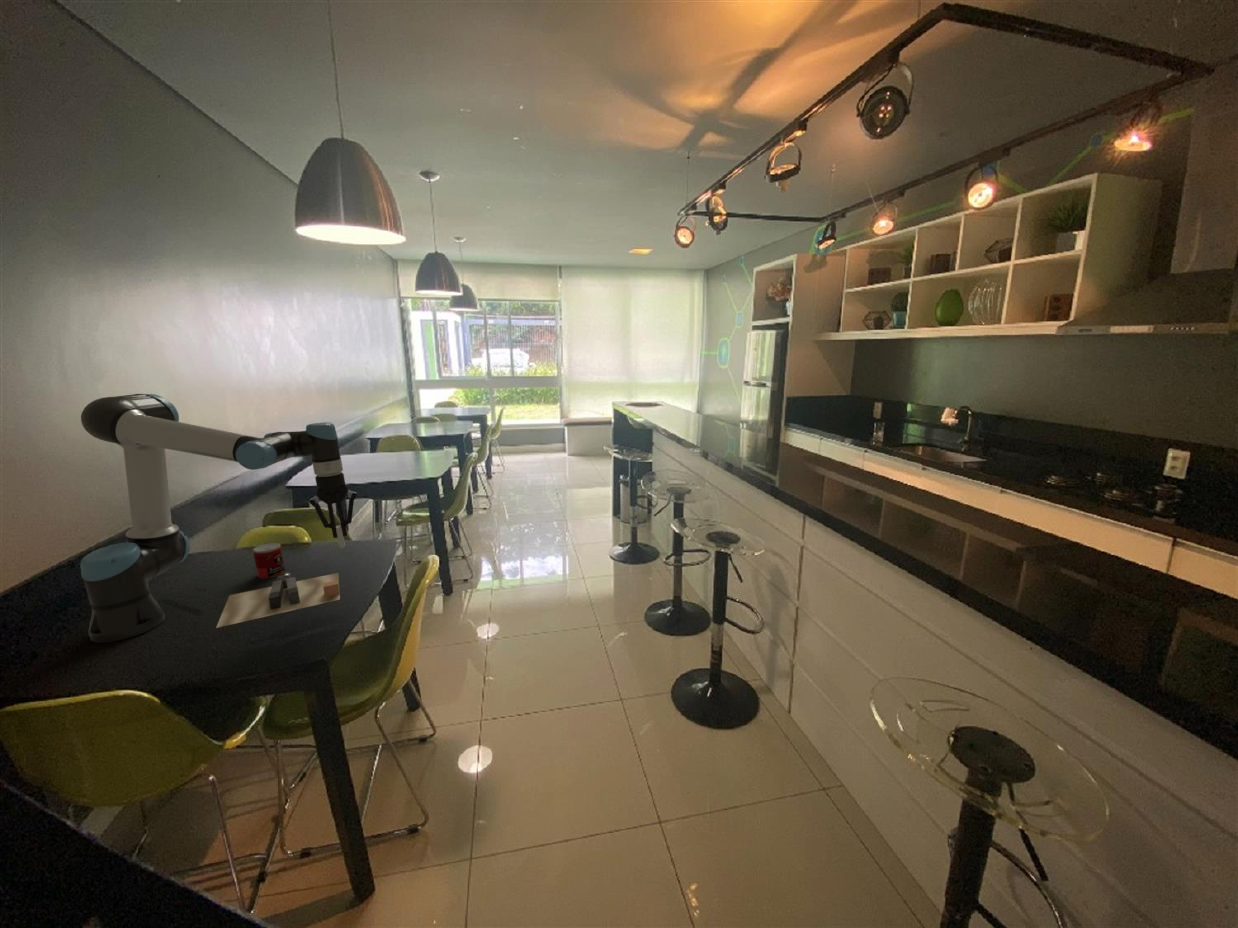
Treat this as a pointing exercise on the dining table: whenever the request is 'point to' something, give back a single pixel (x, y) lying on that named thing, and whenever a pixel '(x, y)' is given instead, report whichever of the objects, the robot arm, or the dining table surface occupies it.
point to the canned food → (268, 560)
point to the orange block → (331, 588)
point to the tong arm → (293, 591)
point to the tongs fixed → (278, 590)
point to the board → (258, 603)
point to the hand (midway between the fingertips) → (342, 546)
